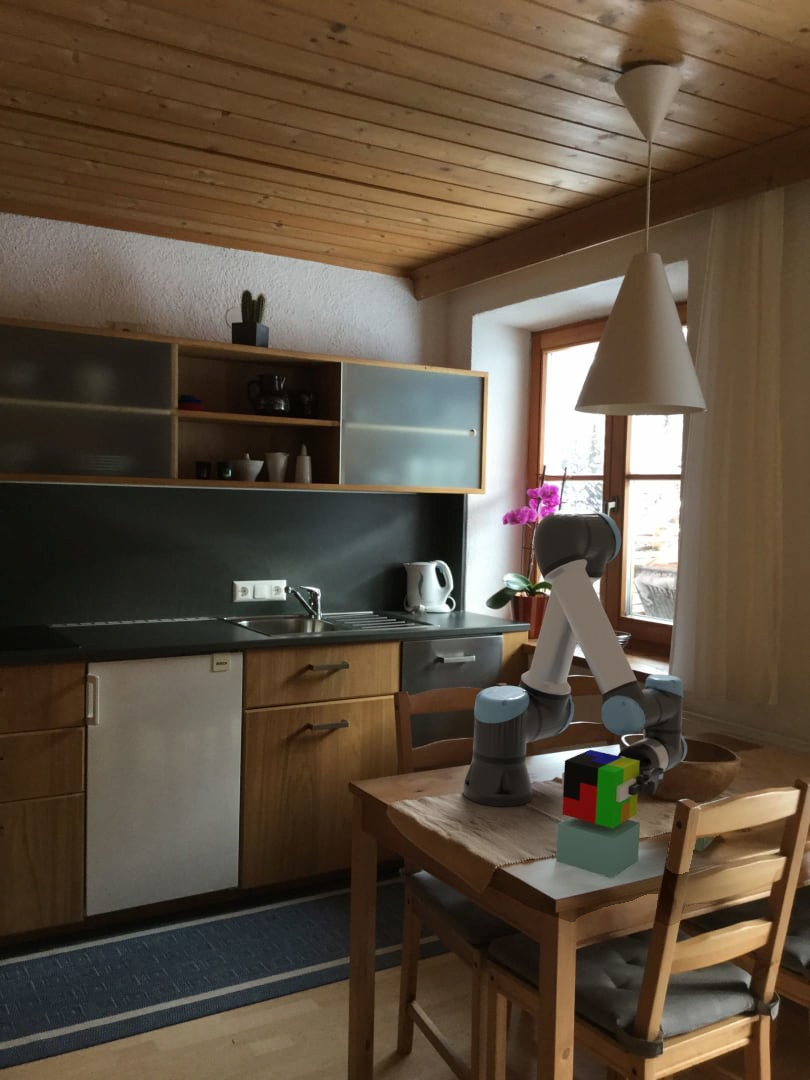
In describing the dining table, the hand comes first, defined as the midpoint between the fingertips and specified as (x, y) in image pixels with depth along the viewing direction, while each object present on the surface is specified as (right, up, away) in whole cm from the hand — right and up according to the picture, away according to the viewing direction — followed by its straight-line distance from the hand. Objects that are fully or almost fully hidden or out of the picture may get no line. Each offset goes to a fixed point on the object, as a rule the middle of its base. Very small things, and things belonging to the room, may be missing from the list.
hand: (590, 787), depth 168 cm
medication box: (+26, -15, +16) cm, 34 cm away
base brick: (+2, -15, +4) cm, 15 cm away
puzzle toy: (+2, -6, +4) cm, 8 cm away
